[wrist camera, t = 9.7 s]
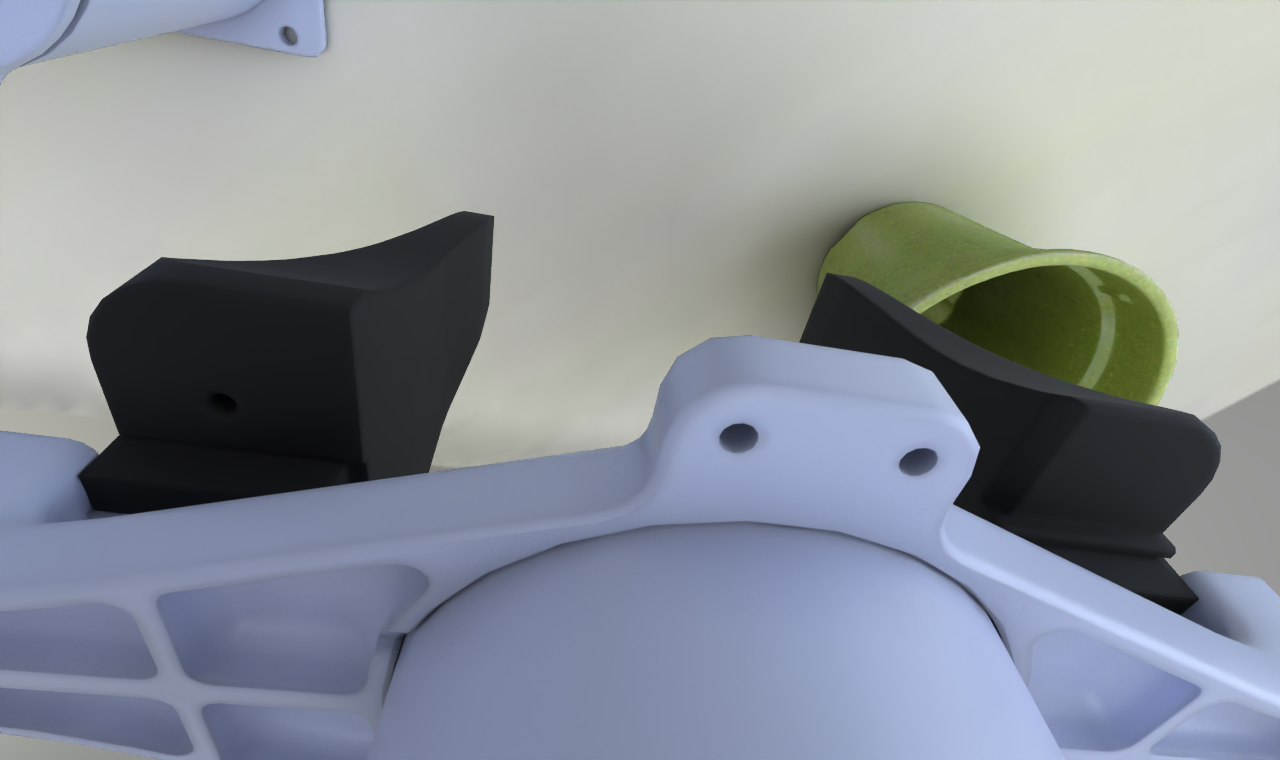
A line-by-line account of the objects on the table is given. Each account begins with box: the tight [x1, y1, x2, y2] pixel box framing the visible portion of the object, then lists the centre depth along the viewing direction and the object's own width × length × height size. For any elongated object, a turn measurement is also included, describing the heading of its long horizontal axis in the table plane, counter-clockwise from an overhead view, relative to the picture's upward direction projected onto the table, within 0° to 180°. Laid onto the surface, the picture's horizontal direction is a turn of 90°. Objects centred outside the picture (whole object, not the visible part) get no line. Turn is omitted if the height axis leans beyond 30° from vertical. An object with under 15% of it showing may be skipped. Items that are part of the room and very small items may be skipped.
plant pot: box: [817, 202, 1179, 406], centre depth 22 cm, size 9×9×9 cm
